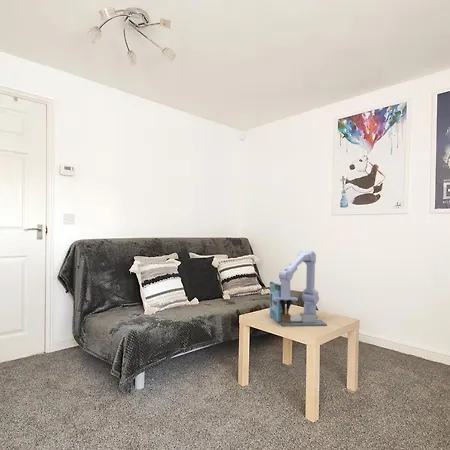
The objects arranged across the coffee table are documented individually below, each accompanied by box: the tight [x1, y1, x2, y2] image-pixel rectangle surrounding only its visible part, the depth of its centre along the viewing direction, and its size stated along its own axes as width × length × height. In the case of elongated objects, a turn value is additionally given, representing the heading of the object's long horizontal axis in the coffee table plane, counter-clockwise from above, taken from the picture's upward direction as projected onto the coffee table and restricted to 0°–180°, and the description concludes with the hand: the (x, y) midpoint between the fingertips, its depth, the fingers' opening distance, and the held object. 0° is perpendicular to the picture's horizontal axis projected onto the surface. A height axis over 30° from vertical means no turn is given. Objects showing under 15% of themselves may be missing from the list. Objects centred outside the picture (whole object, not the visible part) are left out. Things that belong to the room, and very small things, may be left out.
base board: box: [279, 319, 328, 327], centre depth 202 cm, size 10×27×1 cm, turn 93°
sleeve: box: [299, 312, 317, 323], centre depth 202 cm, size 5×8×5 cm, turn 93°
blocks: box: [284, 307, 302, 321], centre depth 202 cm, size 3×14×8 cm, turn 93°
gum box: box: [269, 281, 286, 324], centre depth 214 cm, size 20×5×23 cm, turn 8°
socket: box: [281, 312, 291, 323], centre depth 202 cm, size 5×5×5 cm
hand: (285, 312), depth 202 cm, fingers closed
